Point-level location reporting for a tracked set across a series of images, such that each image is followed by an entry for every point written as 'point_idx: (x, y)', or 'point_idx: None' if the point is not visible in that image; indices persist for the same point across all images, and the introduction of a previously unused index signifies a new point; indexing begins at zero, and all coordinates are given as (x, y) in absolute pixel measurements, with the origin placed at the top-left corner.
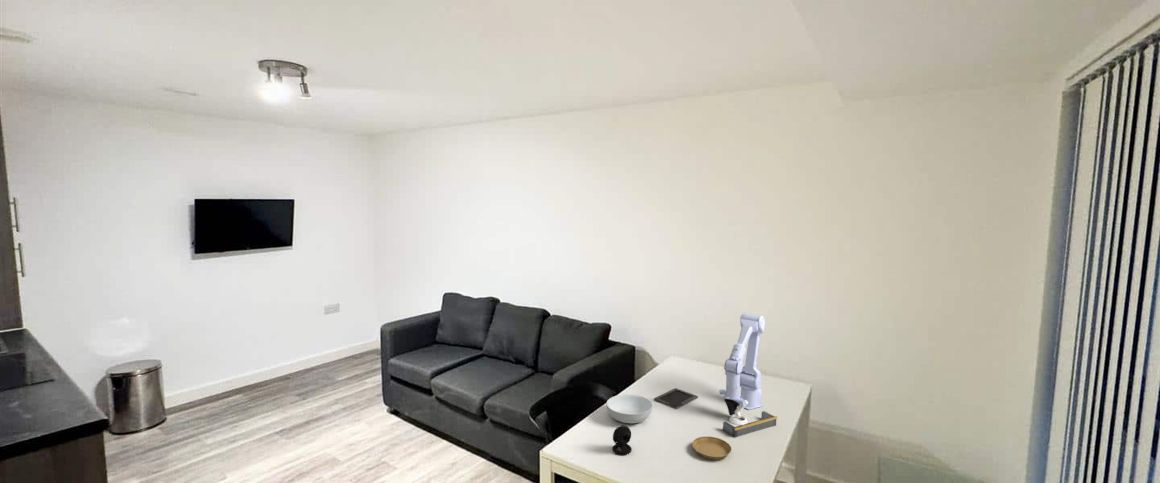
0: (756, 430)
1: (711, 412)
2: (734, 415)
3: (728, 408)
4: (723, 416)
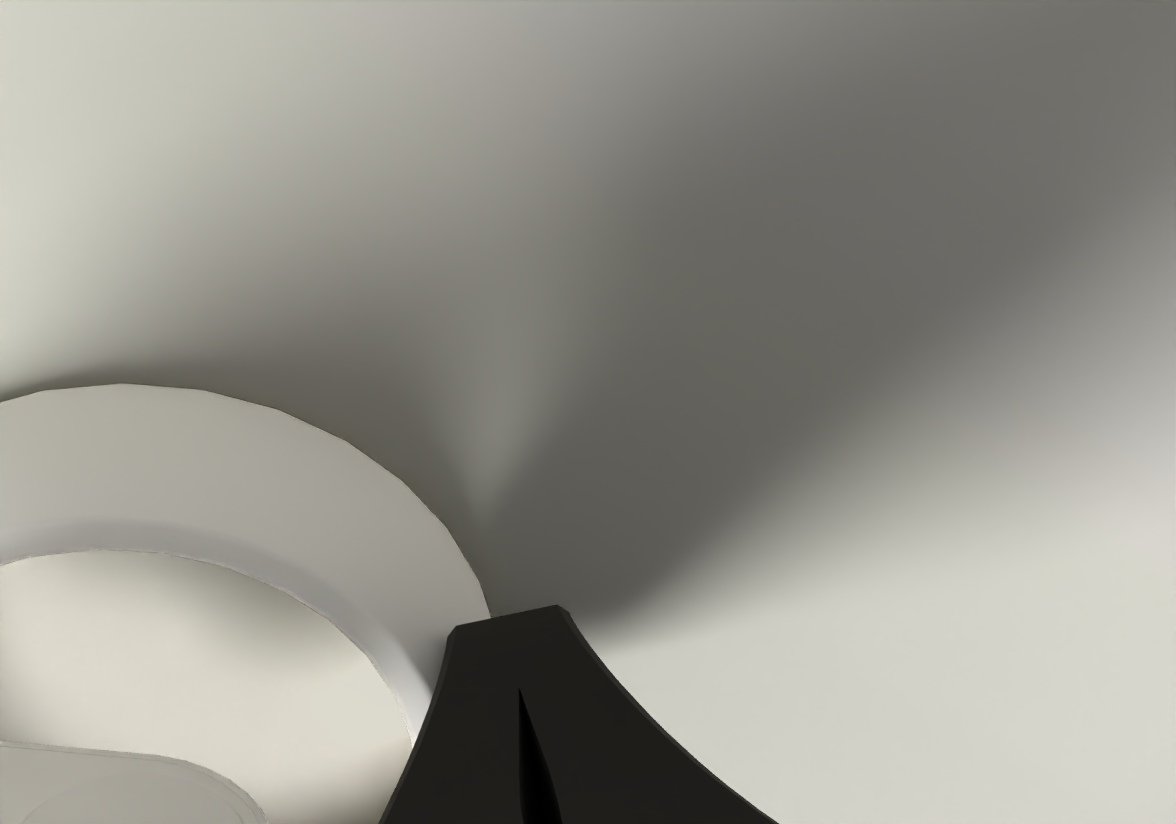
0: None
1: (1167, 88)
2: None
3: (612, 758)
4: (683, 375)
